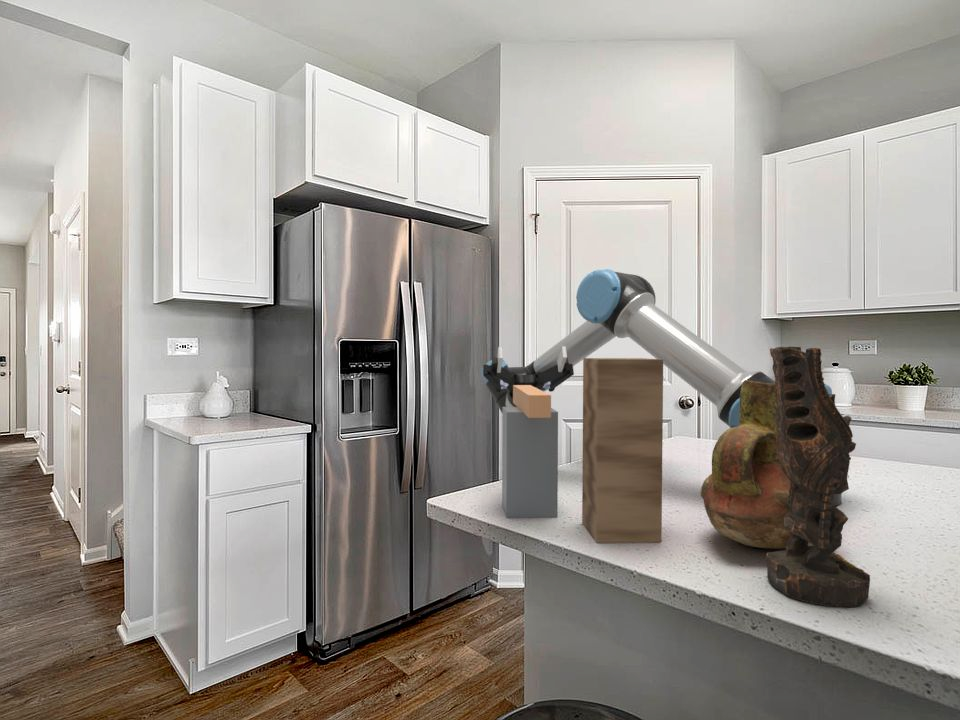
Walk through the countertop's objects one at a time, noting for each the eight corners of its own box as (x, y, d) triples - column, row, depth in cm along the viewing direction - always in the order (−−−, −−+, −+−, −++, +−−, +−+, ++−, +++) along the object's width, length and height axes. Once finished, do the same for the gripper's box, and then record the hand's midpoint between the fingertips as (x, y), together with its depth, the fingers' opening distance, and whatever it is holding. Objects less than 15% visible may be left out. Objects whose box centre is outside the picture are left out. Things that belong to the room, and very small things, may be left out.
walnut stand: (582, 522, 97) (583, 358, 96) (640, 522, 97) (641, 358, 96) (596, 543, 87) (598, 359, 86) (661, 542, 87) (663, 359, 86)
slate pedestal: (502, 503, 108) (502, 406, 108) (549, 503, 109) (549, 406, 108) (506, 517, 99) (506, 412, 99) (557, 517, 100) (558, 412, 99)
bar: (513, 402, 116) (513, 385, 116) (530, 402, 116) (530, 385, 116) (528, 417, 91) (528, 395, 91) (550, 417, 91) (551, 395, 91)
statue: (882, 612, 64) (887, 346, 63) (782, 603, 66) (785, 346, 66) (843, 576, 74) (847, 346, 74) (757, 569, 76) (760, 346, 76)
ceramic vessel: (856, 537, 89) (858, 378, 89) (792, 582, 72) (795, 385, 72) (745, 513, 102) (747, 374, 102) (669, 547, 85) (670, 380, 84)
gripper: (574, 409, 138) (593, 367, 119) (471, 411, 136) (474, 368, 118) (571, 381, 141) (588, 336, 123) (470, 383, 140) (473, 337, 122)
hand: (532, 352), depth 120 cm, fingers open, 13 cm apart
